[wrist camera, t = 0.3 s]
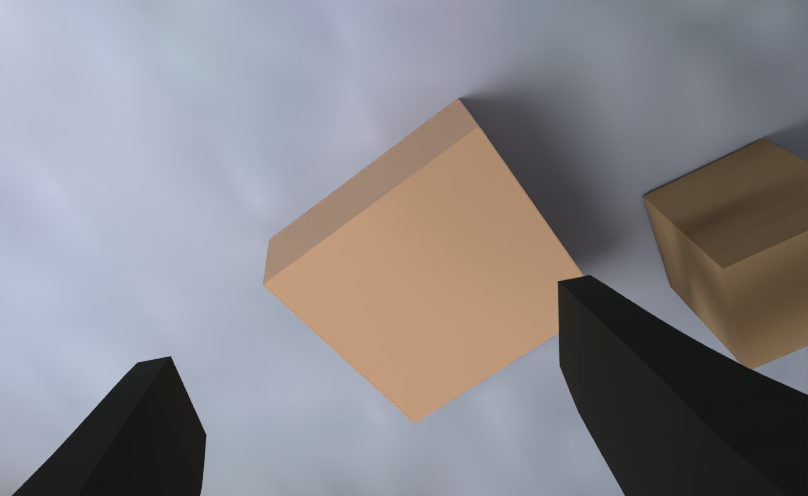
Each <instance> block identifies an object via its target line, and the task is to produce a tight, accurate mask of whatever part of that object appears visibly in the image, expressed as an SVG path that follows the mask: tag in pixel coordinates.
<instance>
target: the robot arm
mask: <svg viewBox="0 0 808 496" xmlns="http://www.w3.org/2000/svg"><path fill="white" fill-rule="evenodd" d="M558 317H559V359H560V367H561V370H562V373H563V375H564V378H565V380H566V383H567V385H568V388H569V390H570V393H571V395H572V398H573V400H574V402H575V405H576V407H577V410H578V412H579V414H580V416H581V418H582V419H583V421H584V423H585V425H586V427H587V429H588V430H589V432H590V434H591V436H592V438H593V439H594V441H595V443H596V445H597V447H598V448H599V450H600V452H601V454H602V456H603V457H604V459H605V461H606V463H607V464H608V466H609V468H610V470H611V472H612V473H613V475H614V477H615V479H616V480H617V482H618V484H619V486H620V488H621V489H622V491H623V493H624V495H625V496H808V395H807V394H804V393H802V392H800V391H798V390H795V389H793V388H791V387H789V386H787V385H784V384H782V383H780V382H778V381H775V380H773V379H771V378H769V377H766V376H764V375H762V374H760V373H758V372H756V371H754V370H752V369H749V368H747V367H745V366H743V365H741V364H739V363H737V362H735V361H734V360H732V359H730V358H728V357H726V356H724V355H722V354H720V353H718V352H717V351H715V350H713V349H711V348H709V347H707V346H705V345H703V344H702V343H700V342H698V341H696V340H695V339H693V338H691V337H689V336H687V335H686V334H684V333H682V332H681V331H679V330H677V329H675V328H674V327H672V326H670V325H669V324H667V323H665V322H664V321H662V320H660V319H659V318H657V317H656V316H654V315H652V314H651V313H649V312H648V311H646V310H644V309H643V308H641V307H640V306H638V305H636V304H635V303H633V302H632V301H630V300H629V299H627V298H625V297H624V296H622V295H621V294H619V293H618V292H616V291H615V290H613V289H612V288H610V287H608V286H607V285H605V284H604V283H602V282H601V281H599V280H597V279H596V278H594V277H592V276H591V275H587V276H582V277H577V278H572V279H567V280H562V281H558ZM205 446H206V433H205V431H204V429H203V427H202V424H201V422H200V420H199V418H198V416H197V413H196V411H195V409H194V407H193V404H192V402H191V400H190V398H189V396H188V393H187V391H186V389H185V387H184V385H183V382H182V380H181V378H180V376H179V373H178V371H177V369H176V367H175V365H174V362H173V360H172V358H171V356H169V357H164V358H159V359H154V360H149V361H143V362H138V363H137V364H136V365H135V366H134V367H133V368H132V369H131V370H130V371H129V372H128V373H127V374H126V375H125V376H124V377H123V378H122V379H121V380H120V381H119V382H118V383H117V384H116V386H115V387H114V388H113V389H112V390H111V391H110V392H109V393H108V394H107V395H106V397H105V398H104V399H103V400H102V401H101V402H100V403H99V404H98V405H97V407H96V408H95V409H94V410H93V411H92V412H91V413H90V414H89V415H88V417H87V418H86V419H85V420H84V421H83V422H82V423H81V424H80V425H79V426H78V427H77V429H76V430H75V431H74V432H73V433H72V434H71V435H70V436H69V437H68V438H67V439H66V441H65V442H64V443H63V444H62V445H61V446H60V447H59V448H58V449H57V450H56V451H55V452H54V454H53V455H52V456H51V457H50V458H49V459H48V460H47V461H46V462H45V463H44V464H43V465H42V466H41V467H40V468H39V469H38V470H37V471H36V472H35V473H34V474H33V475H32V476H31V477H30V478H29V479H28V480H27V481H26V482H25V483H24V484H23V485H22V486H21V487H20V488H19V489H18V490H17V491H16V492H15V493H14V494H13V495H12V496H200V494H201V489H202V480H203V471H204V460H205Z"/></svg>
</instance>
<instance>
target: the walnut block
mask: <svg viewBox="0 0 808 496" xmlns="http://www.w3.org/2000/svg"><path fill="white" fill-rule="evenodd" d="M643 199H644V202H645V206H646V209H647V212H648V215H649V219H650V222H651V225H652V228H653V232H654V235H655V238H656V241H657V245H658V248H659V251H660V254H661V258H662V261H663V264H664V267H665V271H666V274H667V277H668V280H669V284H670V287H671V288H672V289H673V290H674V291H675V292H676V293H677V294H678V295H679V296H680V298H681V299H682V300H683V301H684V302H685V303H686V304H687V305H688V306H689V307H690V309H691V310H692V311H693V312H694V313H695V314H696V315H697V316H698V317H699V318H700V319H701V321H702V322H703V323H704V324H705V325H706V326H707V327H708V328H709V329H710V330H711V331H712V333H713V334H714V335H715V336H716V337H717V338H718V339H719V340H720V341H721V342H722V344H723V345H724V346H725V347H726V348H727V349H728V350H729V351H730V352H731V353H732V354H733V356H734V357H735V358H736V359H737V360H738V361H739V362H740V363H741V364H742V365H743V366H745V367H747V368H749V369H754V368H756V367H759V366H761V365H763V364H766V363H768V362H770V361H773V360H775V359H777V358H780V357H782V356H784V355H787V354H789V353H791V352H794V351H796V350H798V349H801V348H803V347H805V346H808V162H807V161H805V160H804V159H802V158H800V157H798V156H796V155H794V154H792V153H790V152H788V151H786V150H785V149H783V148H781V147H779V146H777V145H775V144H773V143H771V142H769V141H768V140H766V139H762V140H760V141H757V142H755V143H753V144H751V145H749V146H747V147H745V148H743V149H741V150H739V151H736V152H734V153H732V154H730V155H728V156H726V157H724V158H722V159H720V160H718V161H715V162H713V163H711V164H709V165H707V166H705V167H703V168H701V169H699V170H697V171H694V172H692V173H690V174H688V175H686V176H684V177H682V178H680V179H678V180H676V181H673V182H671V183H669V184H667V185H665V186H663V187H661V188H659V189H657V190H655V191H652V192H650V193H648V194H646V195H644V196H643Z"/></svg>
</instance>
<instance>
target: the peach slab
mask: <svg viewBox="0 0 808 496" xmlns="http://www.w3.org/2000/svg"><path fill="white" fill-rule="evenodd" d="M582 276H584V275H583V274H582V273H581V271H580V270H579V268H578V267H577V265H576V264H575V263H574V261H573V260H572V258H571V257H570V255H569V254H568V253H567V251H566V250H565V248H564V247H563V245H562V244H561V243H560V241H559V240H558V238H557V237H556V235H555V234H554V233H553V231H552V230H551V228H550V227H549V225H548V224H547V223H546V221H545V220H544V218H543V217H542V215H541V214H540V212H539V211H538V210H537V208H536V207H535V205H534V204H533V202H532V201H531V200H530V198H529V197H528V195H527V194H526V192H525V191H524V190H523V188H522V187H521V185H520V184H519V182H518V181H517V180H516V178H515V177H514V175H513V174H512V172H511V171H510V170H509V168H508V167H507V165H506V164H505V162H504V161H503V160H502V158H501V157H500V155H499V154H498V152H497V151H496V150H495V148H494V147H493V145H492V144H491V142H490V141H489V139H488V138H487V137H486V135H485V134H484V132H483V131H482V129H481V128H480V127H479V125H478V124H477V123H476V121H475V120H474V118H473V117H472V116H471V114H470V113H469V112H468V110H467V109H466V108H465V106H464V105H463V104H462V102H461V101H460V100H459V98H458V99H457V100H455V101H454V102H453V103H451V104H450V105H449V106H447V107H446V108H445V109H443V110H442V111H441V112H439V113H438V114H437V115H435V116H434V117H433V118H431V119H430V120H429V121H427V122H426V123H425V124H423V125H422V126H421V127H419V128H418V129H417V130H415V131H414V132H413V133H411V134H410V135H409V136H407V137H406V138H405V139H403V140H402V141H401V142H399V143H398V144H397V145H395V146H394V147H393V148H391V149H390V150H389V151H387V152H386V153H385V154H383V155H382V156H381V157H379V158H378V159H377V160H375V161H374V162H373V163H371V164H370V165H369V166H367V167H366V168H365V169H363V170H362V171H361V172H359V173H358V174H357V175H355V176H354V177H353V178H351V179H350V180H349V181H347V182H346V183H345V184H343V185H342V186H341V187H339V188H338V189H337V190H335V191H334V192H333V193H331V194H330V195H329V196H327V197H326V198H325V199H323V200H322V201H321V202H319V203H318V204H317V205H315V206H314V207H313V208H311V209H310V210H309V211H307V212H306V213H305V214H303V215H302V216H301V217H299V218H298V219H297V220H295V221H294V222H293V223H291V224H290V225H289V226H287V227H286V228H285V229H283V230H282V231H281V232H279V233H278V234H277V235H275V236H274V237H273V238H271V239H270V240H269V245H268V252H267V259H266V266H265V273H264V280H263V285H264V286H265V287H266V288H267V289H268V290H269V291H270V292H271V293H272V294H273V295H274V296H276V297H277V298H278V299H279V300H280V301H281V302H282V303H283V304H284V305H285V306H286V307H288V308H289V309H290V310H291V311H292V312H293V313H294V314H295V315H296V316H297V317H299V318H300V319H301V320H302V321H303V322H304V323H305V324H306V325H307V326H308V327H309V328H311V329H312V330H313V331H314V332H315V333H316V334H317V335H318V336H319V337H320V338H322V339H323V340H324V341H325V342H326V343H327V344H328V345H329V346H330V347H331V348H332V349H334V350H335V351H336V352H337V353H338V354H339V355H340V356H341V357H342V358H343V359H345V360H346V361H347V362H348V363H349V364H350V365H351V366H352V367H353V368H354V369H355V370H357V371H358V372H359V373H360V374H361V375H362V376H363V377H364V378H365V379H366V380H367V381H369V382H370V383H371V384H372V385H373V386H374V387H375V388H376V389H377V390H378V391H380V392H381V393H382V394H383V395H384V396H385V397H386V398H387V399H388V400H389V401H390V402H392V403H393V404H394V405H395V406H396V407H397V408H398V409H399V410H400V411H401V412H403V413H404V414H405V415H406V416H407V417H408V418H409V419H410V420H411V421H412V422H413V423H416V422H418V421H419V420H421V419H423V418H424V417H426V416H427V415H429V414H431V413H432V412H434V411H435V410H437V409H439V408H440V407H442V406H443V405H445V404H447V403H448V402H450V401H451V400H453V399H454V398H456V397H458V396H459V395H461V394H462V393H464V392H466V391H467V390H469V389H470V388H472V387H474V386H475V385H477V384H478V383H480V382H482V381H483V380H485V379H486V378H488V377H489V376H491V375H493V374H494V373H496V372H497V371H499V370H501V369H502V368H504V367H505V366H507V365H509V364H510V363H512V362H513V361H515V360H517V359H518V358H520V357H521V356H523V355H524V354H526V353H528V352H529V351H531V350H532V349H534V348H536V347H537V346H539V345H540V344H542V343H544V342H545V341H547V340H548V339H550V338H551V337H553V336H555V335H556V334H558V333H559V317H558V281H562V280H567V279H572V278H577V277H582Z"/></svg>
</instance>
